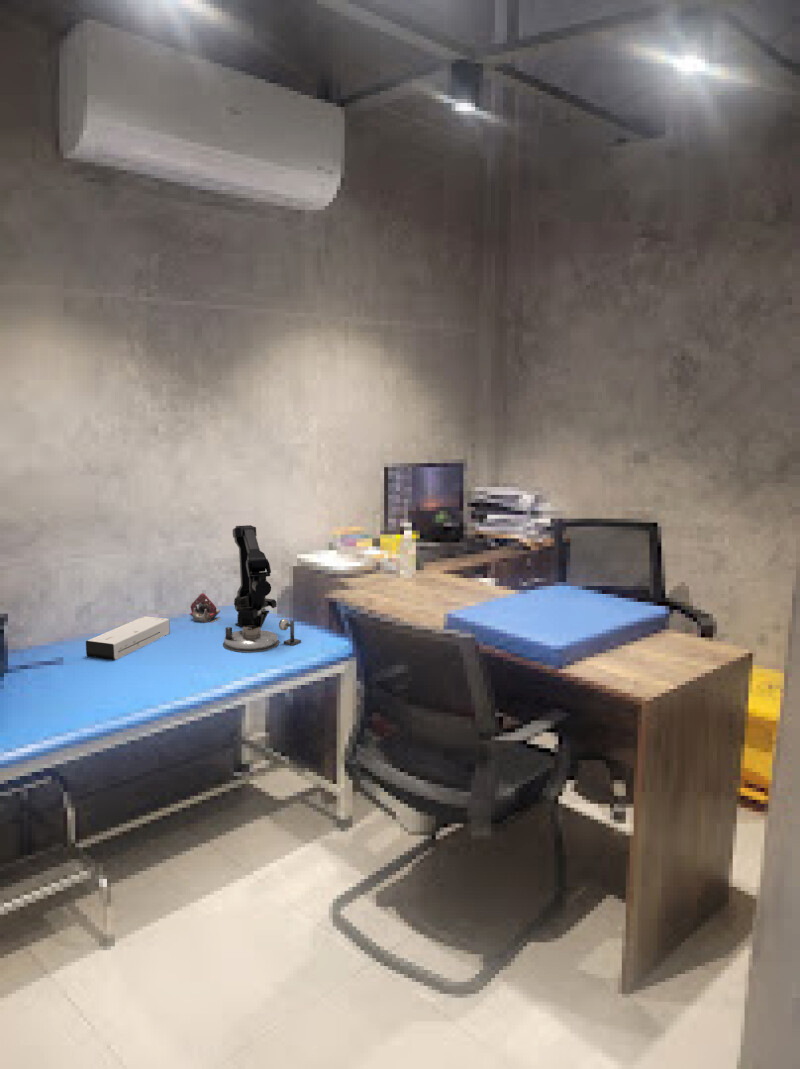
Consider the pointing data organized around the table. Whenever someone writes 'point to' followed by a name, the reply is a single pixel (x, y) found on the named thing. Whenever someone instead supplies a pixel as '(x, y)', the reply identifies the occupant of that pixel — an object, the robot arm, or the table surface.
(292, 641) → the stand
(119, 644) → the laminator
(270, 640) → the turntable
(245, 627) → the cover
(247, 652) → the turntable base
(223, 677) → the table surface
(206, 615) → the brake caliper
